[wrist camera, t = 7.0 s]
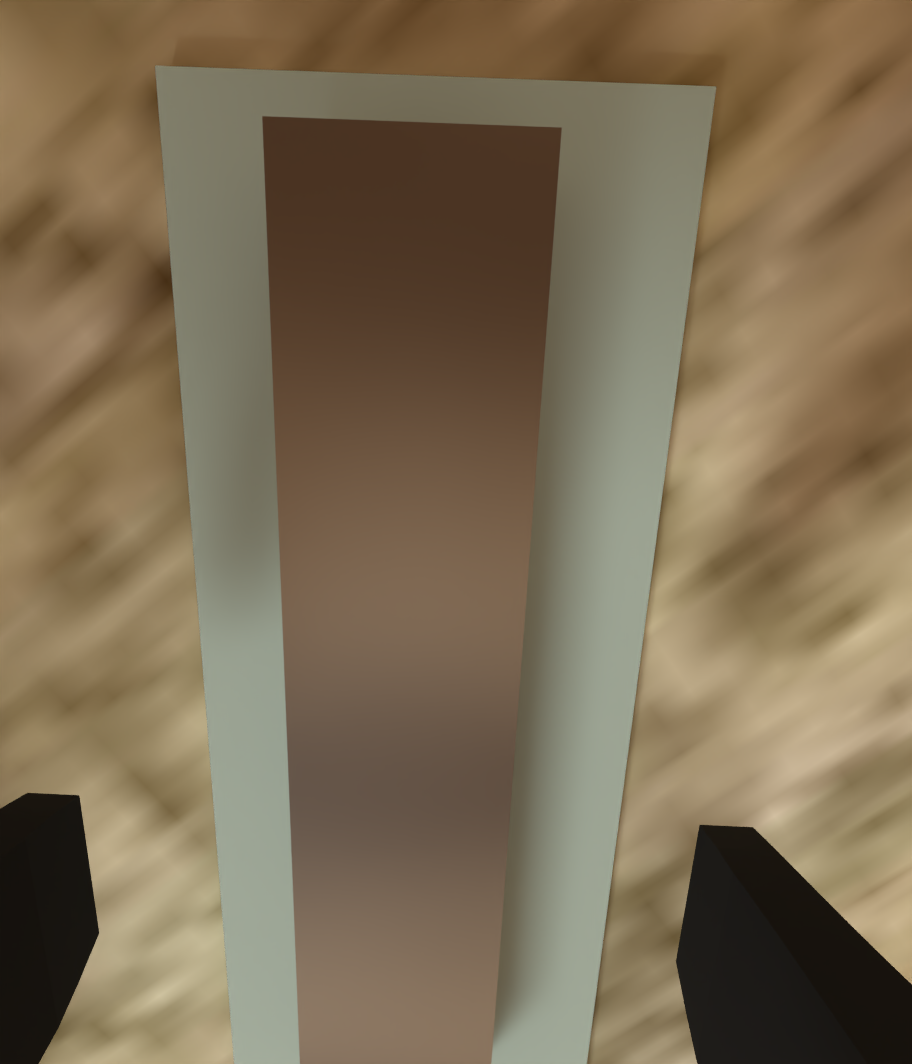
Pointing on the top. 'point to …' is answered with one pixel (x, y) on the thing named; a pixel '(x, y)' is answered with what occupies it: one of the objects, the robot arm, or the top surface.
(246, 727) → the mat
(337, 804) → the rail
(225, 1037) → the top surface
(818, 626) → the top surface
